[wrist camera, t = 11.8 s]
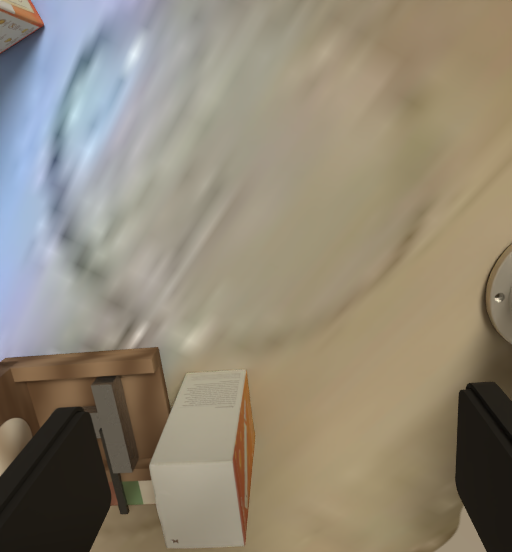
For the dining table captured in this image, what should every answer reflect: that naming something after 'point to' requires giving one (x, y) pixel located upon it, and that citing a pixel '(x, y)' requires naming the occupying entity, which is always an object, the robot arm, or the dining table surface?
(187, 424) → the small box
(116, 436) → the gauge carriage
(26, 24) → the cracker box
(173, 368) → the dining table surface
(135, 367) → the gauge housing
